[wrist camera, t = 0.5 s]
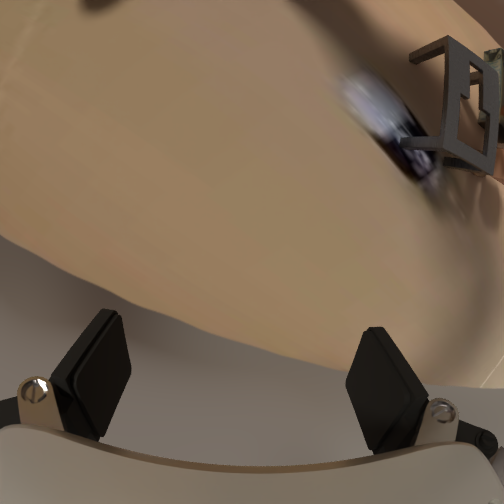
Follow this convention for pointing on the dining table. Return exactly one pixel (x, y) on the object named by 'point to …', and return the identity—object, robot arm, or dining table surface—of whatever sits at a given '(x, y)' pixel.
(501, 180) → the t peg
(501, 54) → the beverage carton
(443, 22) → the dining table surface
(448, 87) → the keyhole rack
